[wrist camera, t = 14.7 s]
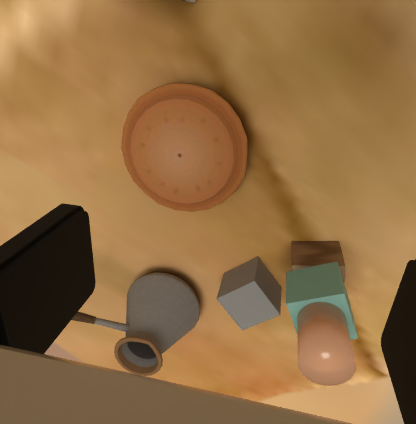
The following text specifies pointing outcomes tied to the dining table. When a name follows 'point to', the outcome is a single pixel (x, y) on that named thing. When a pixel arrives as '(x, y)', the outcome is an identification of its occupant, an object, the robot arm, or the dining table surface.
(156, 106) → the pie
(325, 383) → the pink rounded piece
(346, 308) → the tower top
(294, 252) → the block
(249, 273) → the block
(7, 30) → the dining table surface
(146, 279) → the coffee pot
